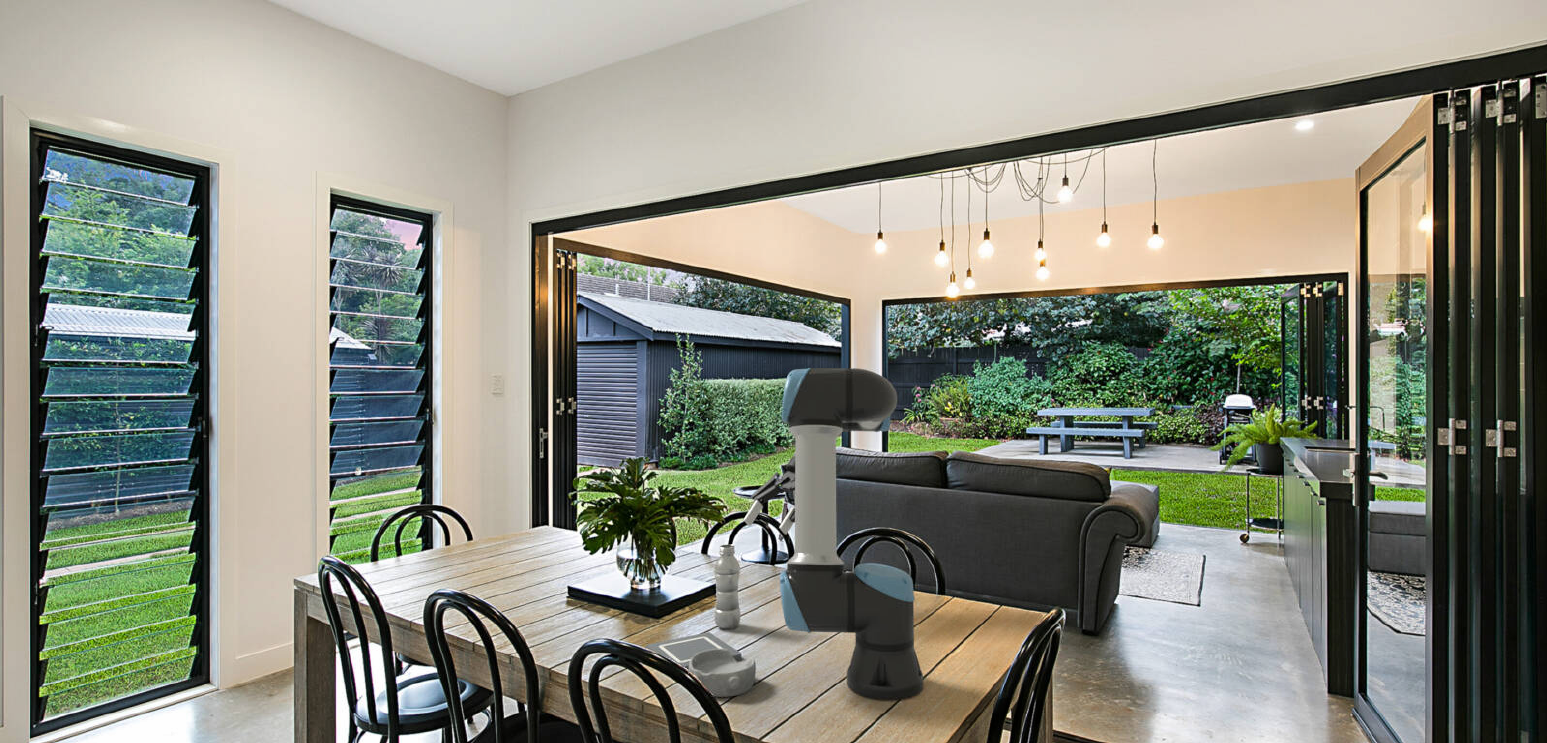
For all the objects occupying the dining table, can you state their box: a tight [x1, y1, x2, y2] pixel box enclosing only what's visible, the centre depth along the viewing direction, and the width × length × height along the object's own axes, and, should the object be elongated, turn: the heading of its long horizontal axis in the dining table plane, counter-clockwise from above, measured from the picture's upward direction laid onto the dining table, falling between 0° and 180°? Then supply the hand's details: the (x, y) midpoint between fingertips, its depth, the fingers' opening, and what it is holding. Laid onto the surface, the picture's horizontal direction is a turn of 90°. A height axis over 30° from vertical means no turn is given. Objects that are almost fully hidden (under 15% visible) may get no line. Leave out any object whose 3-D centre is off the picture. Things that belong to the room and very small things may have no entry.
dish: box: [688, 649, 757, 698], centre depth 147 cm, size 14×14×5 cm
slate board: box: [645, 632, 742, 670], centre depth 164 cm, size 16×16×1 cm
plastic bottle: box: [713, 544, 742, 629], centre depth 182 cm, size 6×7×20 cm
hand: (764, 527), depth 190 cm, fingers open, 13 cm apart
